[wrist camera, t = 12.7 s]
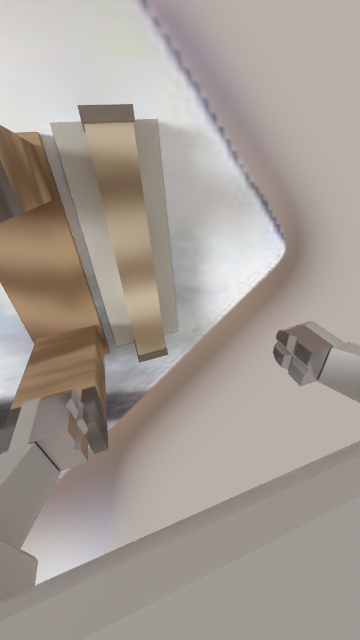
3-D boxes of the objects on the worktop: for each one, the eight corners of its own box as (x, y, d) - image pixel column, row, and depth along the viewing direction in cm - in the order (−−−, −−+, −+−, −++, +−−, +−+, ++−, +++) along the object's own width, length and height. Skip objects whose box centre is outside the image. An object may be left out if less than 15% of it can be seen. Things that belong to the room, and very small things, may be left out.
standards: (-73, 138, 15) (-473, 37, 5) (39, 133, 17) (-63, 49, 6) (49, 363, 27) (17, 486, 16) (109, 349, 28) (117, 451, 17)
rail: (80, 118, 17) (77, 105, 14) (126, 116, 17) (132, 104, 15) (135, 344, 28) (139, 362, 26) (161, 338, 29) (167, 354, 26)
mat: (51, 124, 17) (49, 122, 16) (155, 120, 18) (157, 119, 18) (116, 343, 28) (116, 346, 28) (177, 328, 30) (178, 331, 29)
